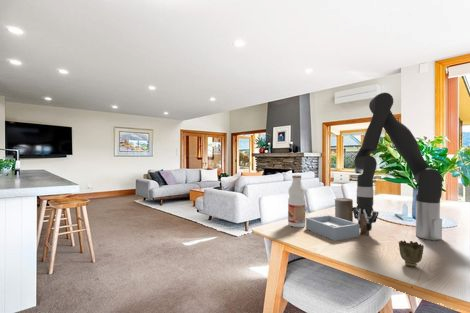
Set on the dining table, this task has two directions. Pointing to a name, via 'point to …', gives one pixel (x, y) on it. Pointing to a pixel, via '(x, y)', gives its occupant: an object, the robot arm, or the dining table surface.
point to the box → (333, 227)
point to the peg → (363, 225)
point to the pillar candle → (344, 209)
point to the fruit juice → (296, 203)
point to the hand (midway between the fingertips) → (364, 229)
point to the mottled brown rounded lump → (411, 252)
